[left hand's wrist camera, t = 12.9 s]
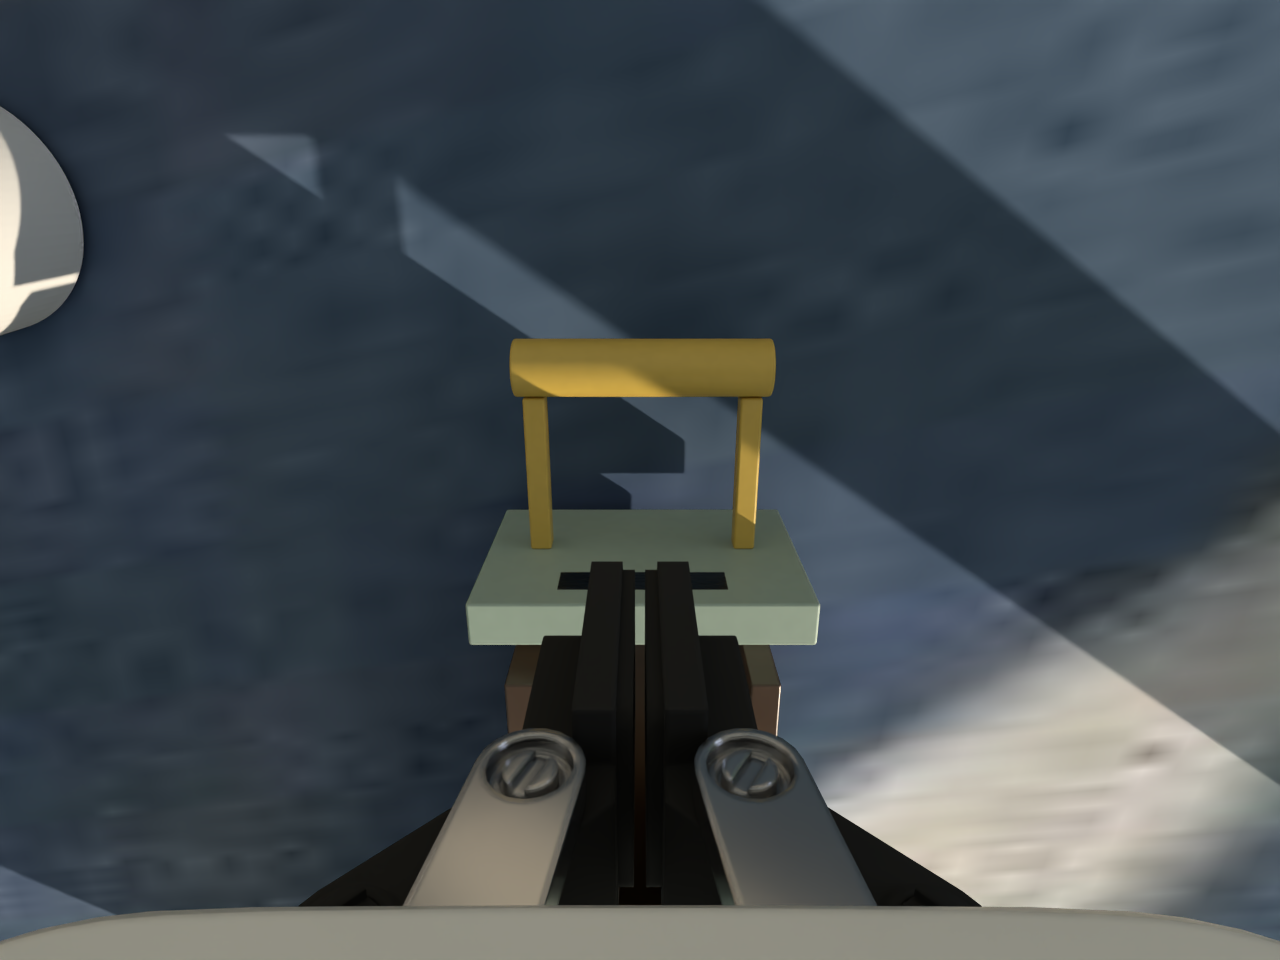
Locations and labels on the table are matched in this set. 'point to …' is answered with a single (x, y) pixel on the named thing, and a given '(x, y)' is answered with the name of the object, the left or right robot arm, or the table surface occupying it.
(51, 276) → the coffee cup
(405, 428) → the table surface
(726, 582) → the drawer
